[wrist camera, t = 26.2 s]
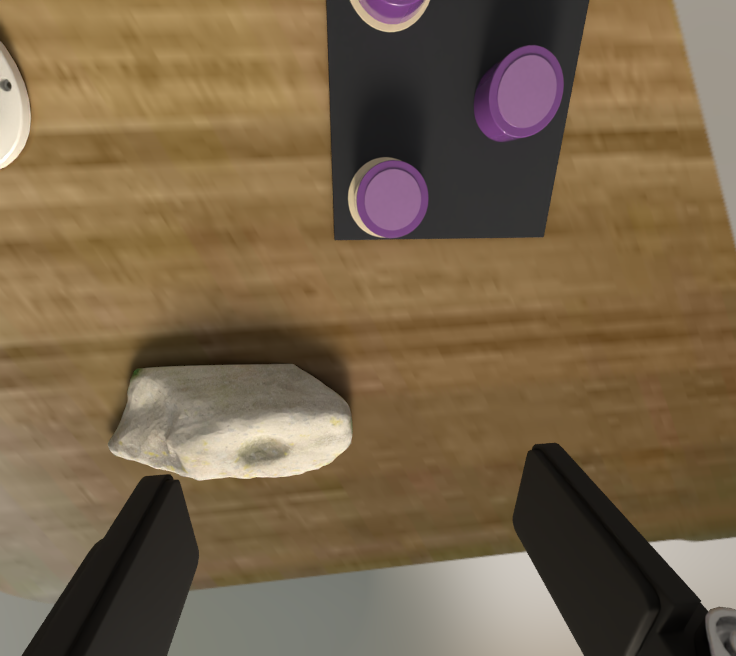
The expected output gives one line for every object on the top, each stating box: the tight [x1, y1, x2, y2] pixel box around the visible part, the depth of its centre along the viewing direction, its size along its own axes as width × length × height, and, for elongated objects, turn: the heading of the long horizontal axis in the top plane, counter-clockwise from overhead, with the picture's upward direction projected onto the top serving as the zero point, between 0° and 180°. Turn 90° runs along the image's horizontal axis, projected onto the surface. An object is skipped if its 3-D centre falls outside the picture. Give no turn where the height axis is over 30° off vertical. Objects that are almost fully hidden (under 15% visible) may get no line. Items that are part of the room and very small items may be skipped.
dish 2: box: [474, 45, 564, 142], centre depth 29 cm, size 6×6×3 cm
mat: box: [326, 0, 589, 240], centre depth 31 cm, size 22×24×1 cm
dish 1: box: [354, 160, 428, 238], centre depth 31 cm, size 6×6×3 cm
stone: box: [108, 364, 352, 480], centre depth 39 cm, size 28×7×15 cm
